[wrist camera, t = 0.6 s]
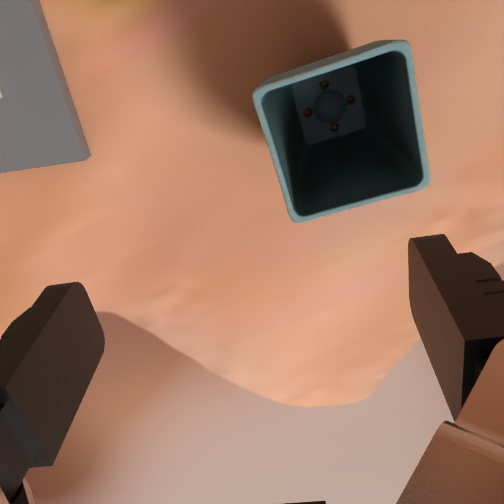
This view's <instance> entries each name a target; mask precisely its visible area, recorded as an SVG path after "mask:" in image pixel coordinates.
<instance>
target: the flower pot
mask: <svg viewBox="0 0 504 504" xmlns="http://www.w3.org/2000/svg"><path fill="white" fill-rule="evenodd" d="M323 80H324V81H326V82H327V83H328V84H327V87H326V88H321V86H320V83H321V81H323ZM348 96H353V98H354V100H353V102H351V103H349V102H348V101H347V97H348ZM252 99H253V102H254V106H255V109H256V111H257V114H258V118H259V120H260V123H261V126H262V130H263V133H264V135H265V139H266V141H267V144H268V147H269V150H270V154H271V157H272V160H273V163H274V167H275V170H276V173H277V176H278V179H279V183H280V186H281V189H282V192H283V196H284V199H285V203H286V206H287V210H288V214H289V216H290V218H291V220H292V221H293V222H294V223H303V222H307V221H311V220H314V219H317V218H320V217H324V216H327V215H331V214H334V213H338V212H342V211H345V210H348V209H353V208H355V207H360V206H363V205H366V204H370V203H374V202H378V201H381V200H385V199H389V198H393V197H396V196H401V195H404V194H409V193H413V192H417V191H420V190H422V189H424V188H426V187H428V186H429V185H430V183H431V174H430V169H429V162H428V156H427V150H426V143H425V137H424V130H423V125H422V117H421V110H420V104H419V96H418V89H417V82H416V75H415V67H414V60H413V53H412V48H411V45H410V43H409V42H408V41H406V40H381V41H375V42H372V43H369V44H366V45H363V46H360V47H357V48H354V49H351V50H348V51H345V52H342V53H339V54H336V55H333V56H330V57H327V58H324V59H321V60H318V61H315V62H312V63H309V64H306V65H303V66H300V67H297V68H294V69H291V70H288V71H285V72H282V73H279V74H276V75H273V76H270V77H268V78H266V79H265V80H264V81H262V82H261V83H260V84H259V85H258V86H257V87H256V89H254V91H253V93H252ZM307 109H310V110H311V115H310V116H306V115H305V114H304V112H305V110H307ZM332 124H337V129H336V130H332V129H331V125H332Z"/></svg>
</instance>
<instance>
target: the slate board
mask: <svg viewBox="0 0 504 504" xmlns="http://www.w3.org/2000/svg"><path fill="white" fill-rule="evenodd" d="M0 92H1V94H2V98H0V173H4V172H11V171H18V170H24V169H31V168H38V167H45V166H51V165H58V164H65V163H72V162H79V161H85V160H87V159H88V158H89V157H90V156H91V154H90V151H89V148H88V145H87V142H86V139H85V136H84V133H83V130H82V127H81V124H80V121H79V118H78V115H77V112H76V109H75V106H74V103H73V100H72V98H71V95H70V92H69V89H68V86H67V83H66V80H65V77H64V74H63V71H62V68H61V65H60V62H59V59H58V56H57V53H56V50H55V47H54V44H53V41H52V38H51V35H50V32H49V29H48V26H47V23H46V20H45V17H44V14H43V11H42V8H41V5H40V2H39V0H0Z"/></svg>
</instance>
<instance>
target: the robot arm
mask: <svg viewBox="0 0 504 504" xmlns="http://www.w3.org/2000/svg"><path fill="white" fill-rule="evenodd" d="M408 264H409V299H410V306H411V311H412V315H413V319H414V321H415V324H416V326H417V329H418V331H419V334H420V336H421V339H422V341H423V344H424V346H425V349H426V351H427V354H428V356H429V359H430V361H431V364H432V366H433V369H434V371H435V374H436V376H437V379H438V381H439V384H440V386H441V389H442V391H443V394H444V396H445V399H446V401H447V404H448V406H449V409H450V411H451V414H452V416H453V419H454V421H455V422H454V423H451V422H449V421H444V422H443V423H442V424H441V425H440V426H439V428H438V429H437V431H436V433H435V434H434V436H433V438H432V440H431V442H430V444H429V445H428V447H427V449H426V451H425V452H424V454H423V456H422V458H421V460H420V462H419V464H418V465H417V467H416V469H415V471H414V473H413V474H412V476H411V478H410V480H409V481H408V483H407V485H406V487H405V489H404V490H403V493H402V494H401V496H400V498H399V500H398V502H397V503H396V504H504V281H502V280H501V277H500V275H499V274H498V273H497V271H496V270H495V269H494V267H493V266H492V265H491V263H489V262H488V261H486V260H484V259H482V258H481V257H479V256H477V255H476V254H474V253H472V252H469V253H461V254H457V253H456V251H455V249H454V248H453V246H452V245H451V243H450V242H449V240H448V239H447V237H446V236H445V235H444V234H439V235H431V236H424V237H416V238H410V239H409V243H408ZM104 345H105V339H104V333H103V330H102V327H101V325H100V322H99V320H98V318H97V315H96V313H95V311H94V308H93V306H92V304H91V301H90V299H89V297H88V294H87V292H86V290H85V288H84V286H83V285H82V284H81V283H79V282H72V283H65V284H57V285H50V286H47V287H46V288H45V289H44V290H43V292H42V293H41V295H40V296H39V297H38V299H37V300H36V301H35V303H34V304H33V305H32V307H31V308H29V309H28V310H26V311H25V312H24V313H23V314H21V315H20V316H19V317H18V318H16V319H15V320H14V321H13V322H12V323H11V324H10V326H9V327H8V328H7V330H6V331H5V332H4V333H3V335H2V336H1V339H0V504H35V503H34V500H33V496H32V493H31V490H30V487H29V484H28V483H27V481H26V480H25V478H24V477H25V475H26V473H27V471H28V469H29V468H32V467H44V466H52V465H53V463H54V461H55V459H56V457H57V454H58V452H59V450H60V448H61V445H62V443H63V441H64V439H65V437H66V434H67V432H68V430H69V428H70V425H71V423H72V421H73V419H74V416H75V414H76V412H77V410H78V408H79V405H80V403H81V401H82V399H83V397H84V395H85V392H86V390H87V388H88V386H89V384H90V381H91V379H92V377H93V375H94V372H95V370H96V368H97V366H98V364H99V361H100V359H101V357H102V354H103V352H104ZM286 504H326V502H325V501H316V502H301V503H286Z"/></svg>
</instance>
